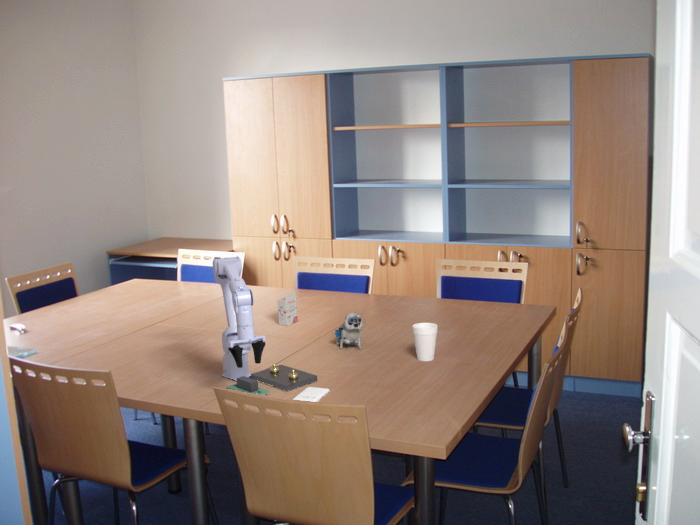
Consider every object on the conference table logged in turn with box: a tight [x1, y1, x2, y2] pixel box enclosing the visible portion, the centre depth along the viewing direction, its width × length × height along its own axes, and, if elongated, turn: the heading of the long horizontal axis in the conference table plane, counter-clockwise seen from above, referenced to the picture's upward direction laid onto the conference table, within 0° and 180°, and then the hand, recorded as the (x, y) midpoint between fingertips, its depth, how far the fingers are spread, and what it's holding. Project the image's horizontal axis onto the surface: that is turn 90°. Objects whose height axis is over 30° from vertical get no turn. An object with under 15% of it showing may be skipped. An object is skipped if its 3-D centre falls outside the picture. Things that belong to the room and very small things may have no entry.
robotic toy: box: [334, 311, 366, 350], centre depth 302 cm, size 13×17×15 cm
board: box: [226, 376, 271, 395], centre depth 253 cm, size 15×7×4 cm, turn 45°
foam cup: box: [412, 322, 438, 362], centre depth 282 cm, size 10×9×13 cm
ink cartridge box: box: [277, 290, 299, 327], centre depth 342 cm, size 9×5×15 cm, turn 147°
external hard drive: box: [292, 386, 330, 403], centre depth 247 cm, size 2×8×12 cm
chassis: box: [250, 363, 318, 392], centre depth 264 cm, size 20×14×5 cm
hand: (248, 365), depth 251 cm, fingers open, 7 cm apart
